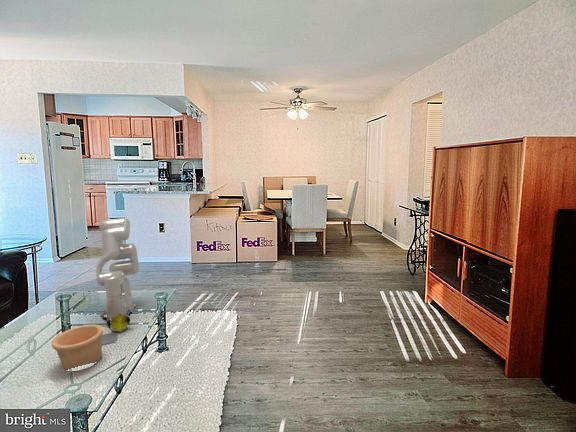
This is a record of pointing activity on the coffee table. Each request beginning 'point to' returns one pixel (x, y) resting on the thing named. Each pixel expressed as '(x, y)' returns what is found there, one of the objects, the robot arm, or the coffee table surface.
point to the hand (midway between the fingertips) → (119, 325)
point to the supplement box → (119, 323)
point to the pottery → (79, 346)
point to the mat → (109, 338)
